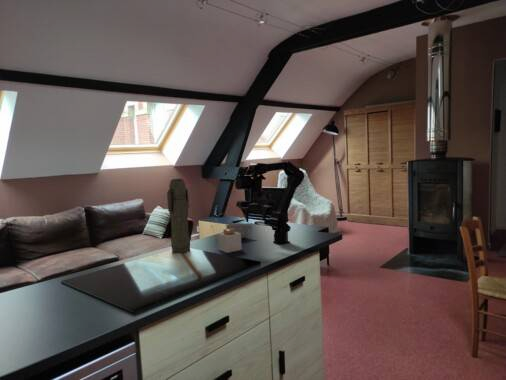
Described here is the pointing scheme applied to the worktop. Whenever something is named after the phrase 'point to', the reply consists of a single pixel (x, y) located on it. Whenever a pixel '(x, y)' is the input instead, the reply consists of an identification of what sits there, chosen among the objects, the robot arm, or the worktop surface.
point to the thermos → (179, 215)
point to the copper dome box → (229, 242)
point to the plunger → (228, 231)
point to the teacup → (239, 228)
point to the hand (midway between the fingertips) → (255, 221)
